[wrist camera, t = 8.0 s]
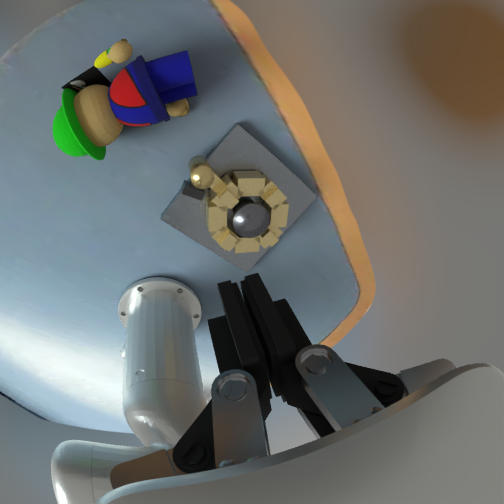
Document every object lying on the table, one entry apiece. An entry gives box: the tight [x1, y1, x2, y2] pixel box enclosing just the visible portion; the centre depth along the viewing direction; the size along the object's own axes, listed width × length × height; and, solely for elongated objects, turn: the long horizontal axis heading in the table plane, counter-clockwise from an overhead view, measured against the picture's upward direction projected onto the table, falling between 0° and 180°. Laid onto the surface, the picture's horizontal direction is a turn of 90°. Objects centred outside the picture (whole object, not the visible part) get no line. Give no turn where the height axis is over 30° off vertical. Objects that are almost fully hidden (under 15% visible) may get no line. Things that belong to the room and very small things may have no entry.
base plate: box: [161, 123, 318, 272], centre depth 33 cm, size 14×15×6 cm
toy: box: [53, 39, 197, 160], centre depth 21 cm, size 12×9×15 cm
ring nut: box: [188, 155, 289, 253], centre depth 31 cm, size 13×9×5 cm
